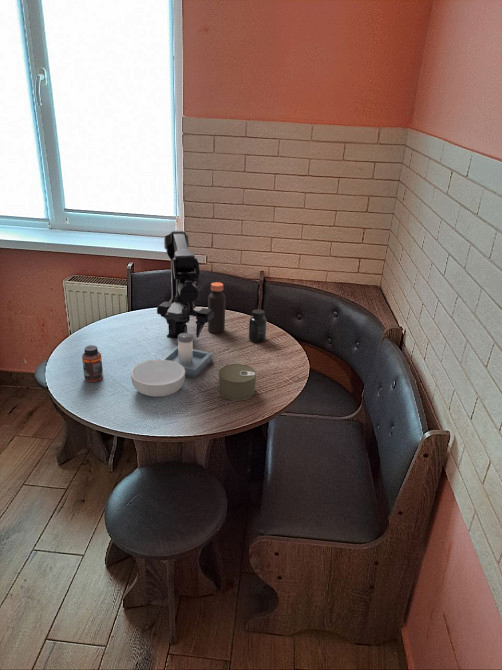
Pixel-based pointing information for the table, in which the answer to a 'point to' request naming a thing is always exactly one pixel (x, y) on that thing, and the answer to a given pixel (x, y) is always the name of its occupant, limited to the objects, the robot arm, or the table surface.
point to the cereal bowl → (158, 377)
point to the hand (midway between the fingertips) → (185, 335)
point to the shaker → (185, 349)
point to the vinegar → (217, 308)
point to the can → (237, 382)
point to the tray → (199, 361)
